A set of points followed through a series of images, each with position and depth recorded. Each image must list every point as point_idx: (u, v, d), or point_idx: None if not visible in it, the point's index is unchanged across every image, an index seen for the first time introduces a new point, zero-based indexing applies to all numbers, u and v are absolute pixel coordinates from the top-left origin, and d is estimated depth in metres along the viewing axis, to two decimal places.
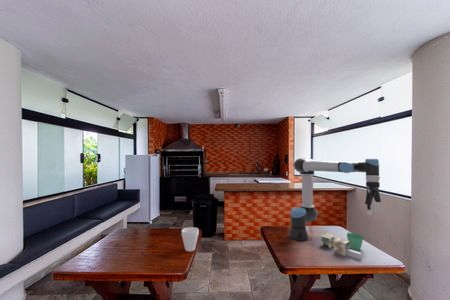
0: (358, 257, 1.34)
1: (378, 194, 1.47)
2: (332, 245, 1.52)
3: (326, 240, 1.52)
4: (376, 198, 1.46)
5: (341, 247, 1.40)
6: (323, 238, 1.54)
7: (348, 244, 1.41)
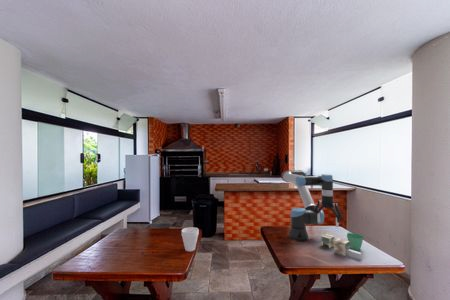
0: (358, 257, 1.34)
1: (336, 210, 1.50)
2: (332, 245, 1.52)
3: (326, 240, 1.52)
4: None
5: (341, 247, 1.40)
6: (323, 238, 1.54)
7: (348, 244, 1.41)
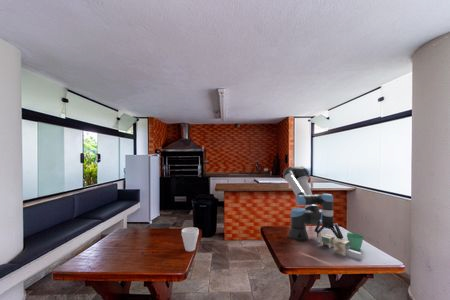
0: (358, 257, 1.34)
1: None
2: (332, 245, 1.52)
3: (326, 240, 1.52)
4: None
5: (341, 247, 1.40)
6: (323, 238, 1.54)
7: (348, 244, 1.41)
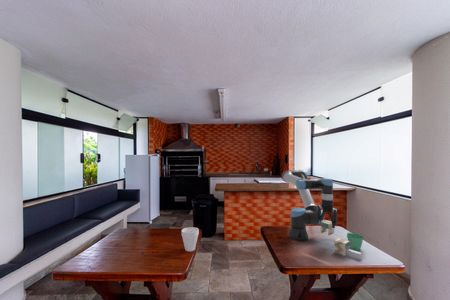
0: (358, 257, 1.34)
1: None
2: None
3: (325, 226, 1.52)
4: None
5: (341, 247, 1.40)
6: (322, 224, 1.54)
7: (348, 244, 1.41)
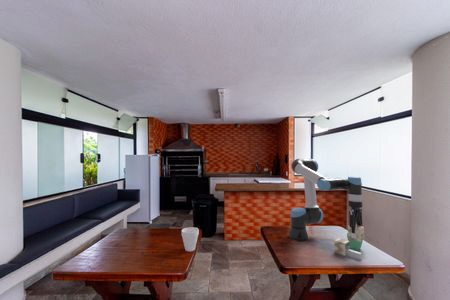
0: (358, 257, 1.34)
1: None
2: None
3: None
4: None
5: (341, 247, 1.40)
6: None
7: (348, 244, 1.41)
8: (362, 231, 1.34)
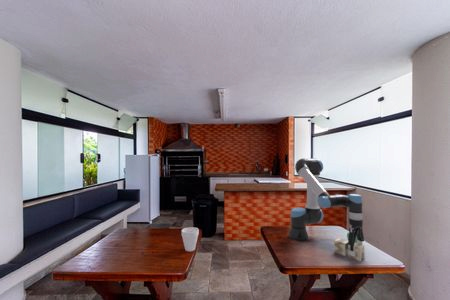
0: None
1: None
2: None
3: None
4: None
5: (341, 247, 1.40)
6: None
7: None
8: (362, 250, 1.34)
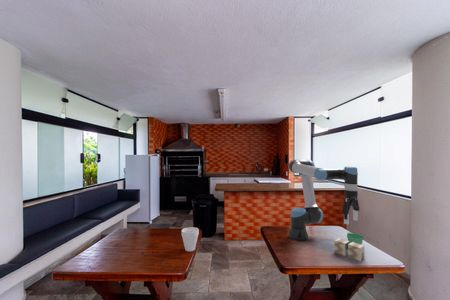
0: None
1: None
2: (354, 255, 1.34)
3: None
4: None
5: (341, 247, 1.40)
6: None
7: None
8: (362, 250, 1.34)
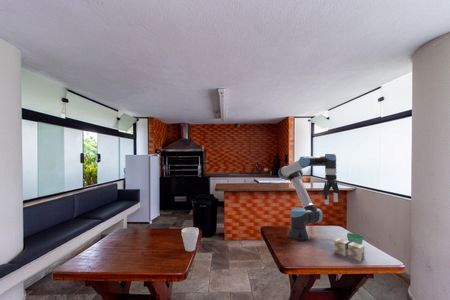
0: None
1: None
2: (354, 255, 1.34)
3: None
4: None
5: (341, 247, 1.40)
6: None
7: None
8: (362, 250, 1.34)
